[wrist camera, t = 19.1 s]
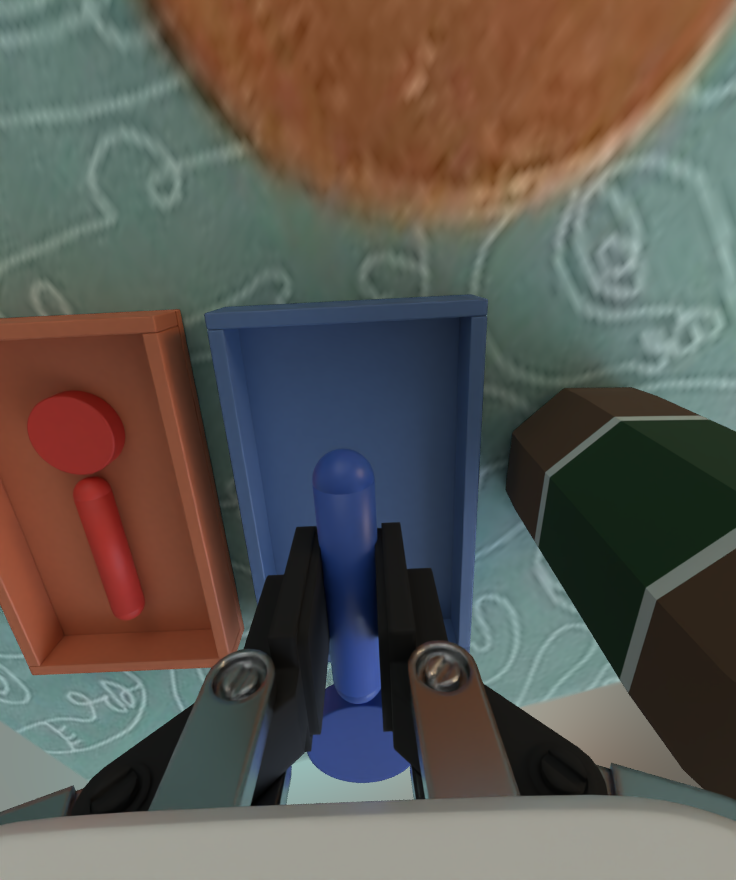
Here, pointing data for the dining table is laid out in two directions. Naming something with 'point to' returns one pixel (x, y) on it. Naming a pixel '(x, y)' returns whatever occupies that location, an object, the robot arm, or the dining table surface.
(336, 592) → the blue spoon
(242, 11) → the dining table surface
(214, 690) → the robot arm
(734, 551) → the beer bottle
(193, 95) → the dining table surface
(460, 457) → the blue tray
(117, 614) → the red spoon
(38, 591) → the terracotta tray
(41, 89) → the dining table surface
